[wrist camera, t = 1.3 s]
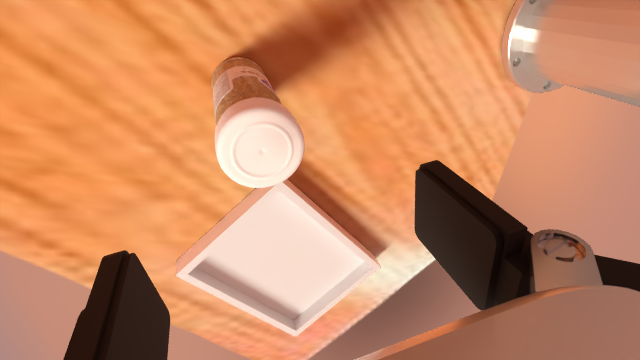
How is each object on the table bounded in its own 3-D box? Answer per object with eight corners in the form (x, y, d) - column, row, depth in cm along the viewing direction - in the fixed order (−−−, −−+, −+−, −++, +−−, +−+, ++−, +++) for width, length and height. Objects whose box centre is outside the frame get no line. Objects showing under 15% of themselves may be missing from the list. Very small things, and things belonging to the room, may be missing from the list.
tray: (373, 254, 43) (381, 267, 41) (291, 322, 45) (295, 336, 43) (276, 169, 33) (280, 180, 32) (176, 260, 35) (175, 275, 33)
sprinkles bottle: (276, 75, 29) (323, 136, 18) (249, 120, 30) (277, 203, 19) (227, 43, 27) (245, 90, 16) (199, 93, 28) (198, 169, 17)
